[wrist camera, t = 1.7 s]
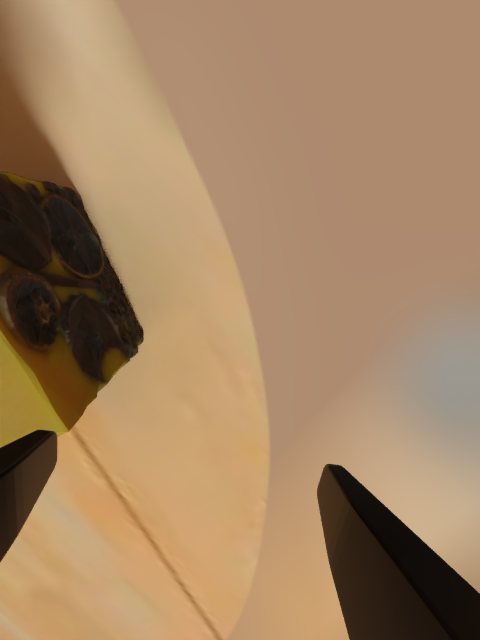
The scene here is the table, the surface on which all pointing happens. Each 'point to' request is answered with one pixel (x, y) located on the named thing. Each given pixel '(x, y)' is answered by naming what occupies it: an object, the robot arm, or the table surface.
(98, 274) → the spotted yellow cube
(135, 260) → the table surface
